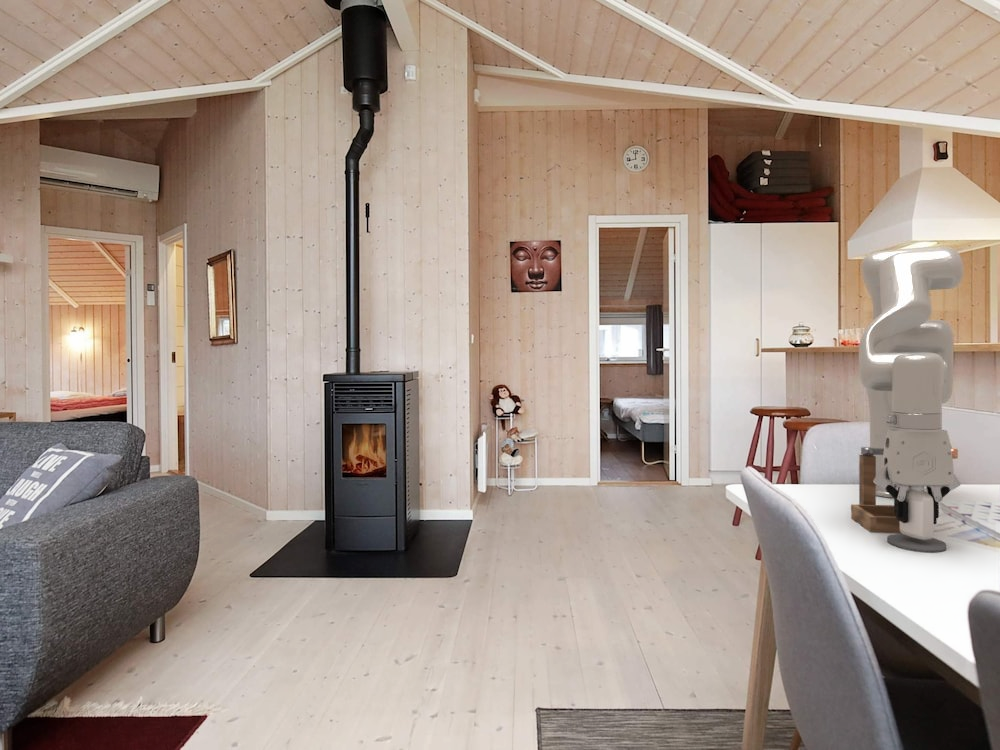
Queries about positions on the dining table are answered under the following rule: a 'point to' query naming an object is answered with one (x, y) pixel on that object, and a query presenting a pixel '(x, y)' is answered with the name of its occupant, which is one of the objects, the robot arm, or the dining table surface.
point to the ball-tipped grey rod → (881, 450)
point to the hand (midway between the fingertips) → (916, 520)
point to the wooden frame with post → (872, 502)
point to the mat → (916, 543)
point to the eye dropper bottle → (918, 514)
